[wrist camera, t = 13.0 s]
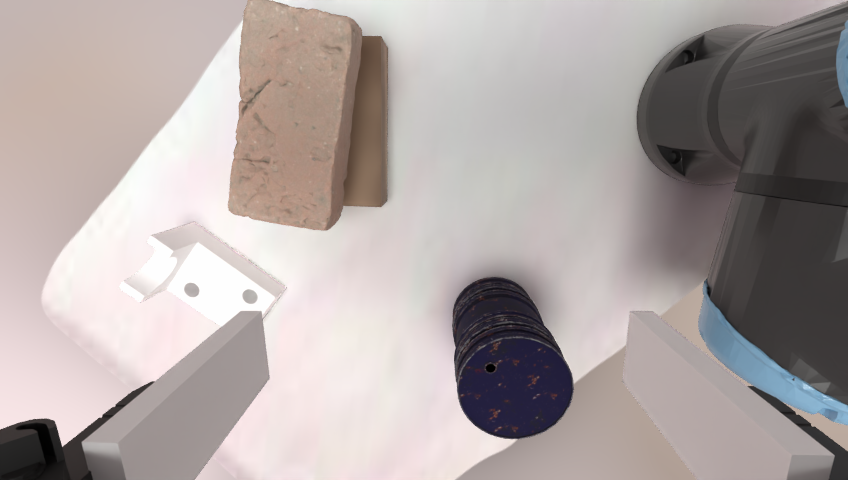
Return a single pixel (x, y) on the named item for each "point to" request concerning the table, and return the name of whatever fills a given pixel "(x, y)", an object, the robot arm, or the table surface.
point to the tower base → (369, 129)
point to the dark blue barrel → (507, 362)
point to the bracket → (203, 275)
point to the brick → (294, 114)
